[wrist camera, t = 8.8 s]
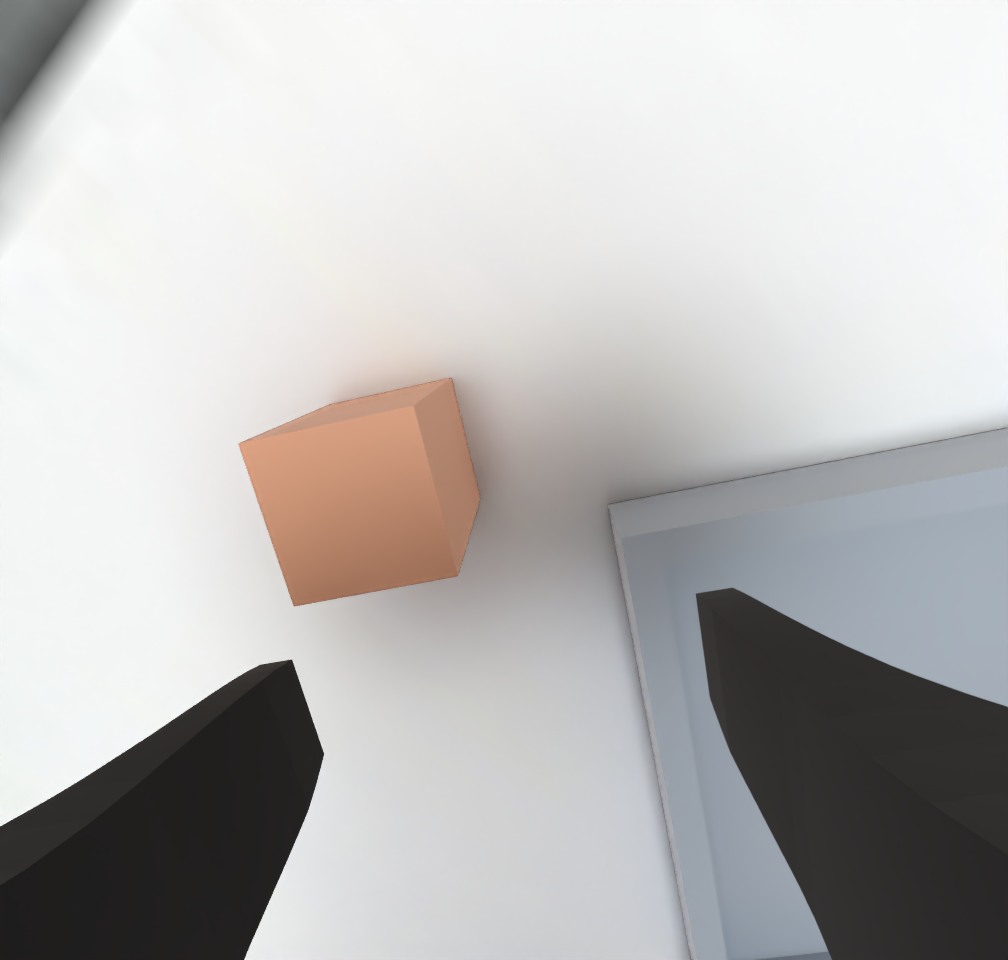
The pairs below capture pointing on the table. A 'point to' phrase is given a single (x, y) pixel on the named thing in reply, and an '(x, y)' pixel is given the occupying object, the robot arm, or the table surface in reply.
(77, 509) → the table surface
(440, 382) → the terracotta block
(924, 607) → the slate tray
